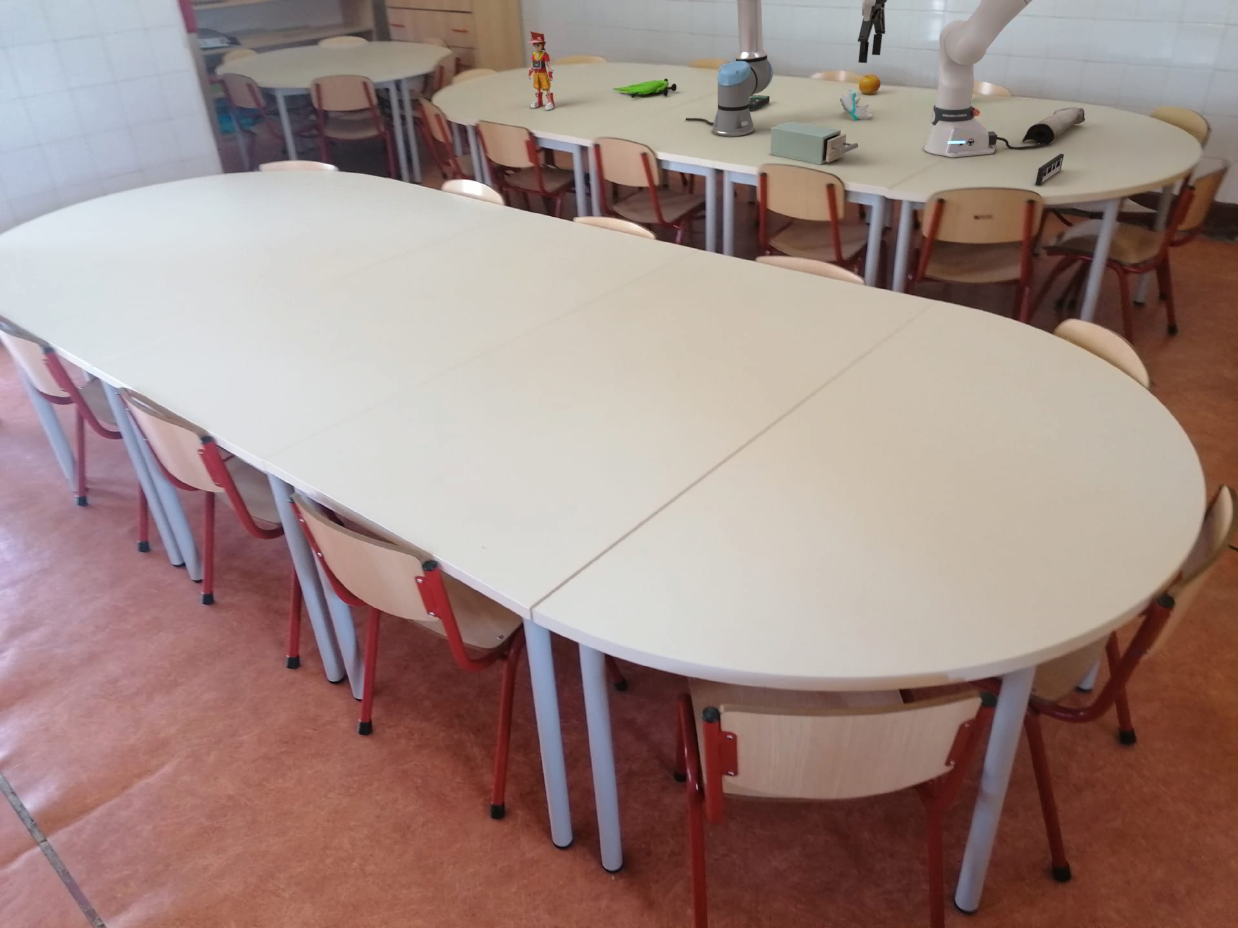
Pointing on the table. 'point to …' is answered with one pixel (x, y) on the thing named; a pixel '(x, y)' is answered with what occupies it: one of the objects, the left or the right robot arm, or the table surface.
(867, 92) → the fruit
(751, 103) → the disk drive
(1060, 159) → the midi keyboard
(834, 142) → the drawer
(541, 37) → the toy
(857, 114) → the anatomical model
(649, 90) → the toy
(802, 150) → the cabinet
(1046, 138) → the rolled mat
